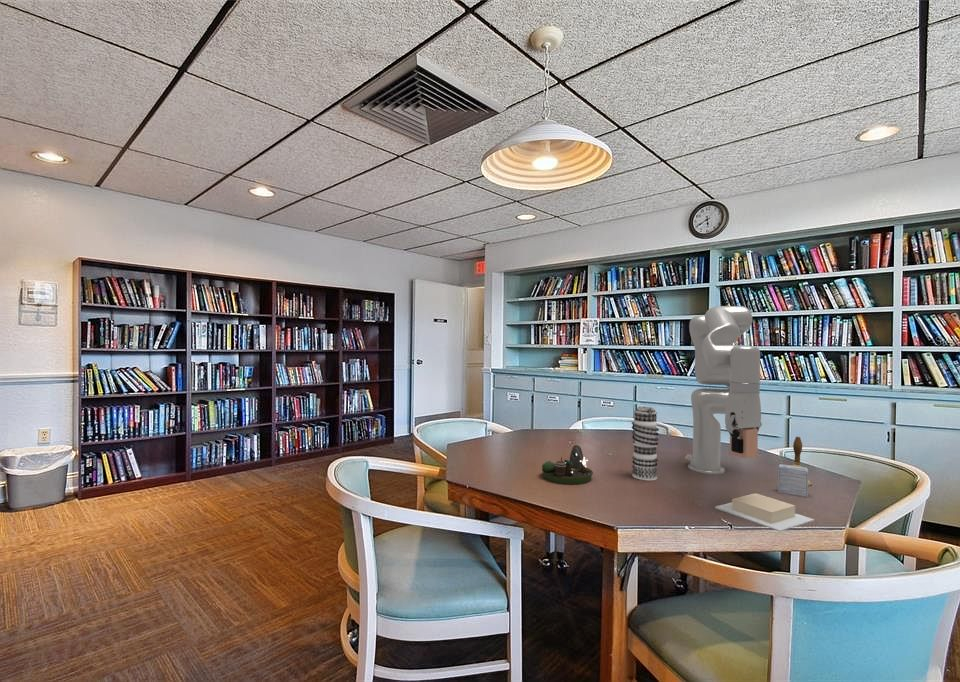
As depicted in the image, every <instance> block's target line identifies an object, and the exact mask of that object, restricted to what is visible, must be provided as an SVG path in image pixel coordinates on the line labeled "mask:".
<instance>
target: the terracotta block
mask: <svg viewBox="0 0 960 682" xmlns="http://www.w3.org/2000/svg"><path fill="white" fill-rule="evenodd" d="M736 427H738V426H736ZM736 431H737V432H738V431H739V430H736ZM758 433H759V431H758V429H755V428H747V429H743V434H742V439H743V453H737V452H733V451H732V450H731V443H732V438H731V437H730V436H729V455H731V456H734V457H738V458H743V459H746V460H748V459H753V458H758V452H759V451H758V448H759V447H758V443H759V442H758V440H759V439H758V436H759V435H758Z"/></svg>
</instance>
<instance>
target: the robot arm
mask: <svg viewBox="0 0 960 682" xmlns="http://www.w3.org/2000/svg"><path fill="white" fill-rule="evenodd" d="M752 323H753V314H752V312H751V310H750V309H749V308H748V307H746V306H743V305H719V306H718V305H717V306H712V307H710V308H709V309H708V310H706V312H705V314H701V315H696V316H694V317H692V318H691V319H690V320H689V325H688V326H689V327H688V328H689V334H690V338H691V341H692V344H693V346H694V375H695V380H696V382H697V383H698V384H701V385H709V386H724V387H725V386H726V388H713V387H712V388H711V387H709V388H707V387H705V388H702V387H701V388H697V389H695V390H693V391H692V393H691V396H690V400H691V401H690V403H691V409H692V425H693V426H692V427H693V428H692V454H690V453H687V454H686V456H685V457H684V459H685V460H687V461H690V463H689V464H688V465H687V467H688V469H689V470H691V471H693V472H697V473H701V474H707V475H722V474H725V472H726V470H725V468H724V467H723V466H721V444H722V443H721V441H722V440H721V435H722V434H721V432H722V431H721V430H722V427H721V424H720V422H719V420H718V419H717V418H716V417H715V416H714V415H718V414H720V415H725V416H724V424H725V429H726V430H727V432H728V433H729V438H730V437H731V438H732V443H731V450H732V451H733V452H737V453H743V439H742V434H743V429H747V428H755V429H758V432H759V430H760V428H761V427H762V425H763V424H762V406H761V397H760V395H761V394H760V392H761V387H760V385H761V382H760V381H761V351H760V349H759V347H757V346H753V345H746V344H743V345H742V344H741V345H739V344H734V343H736V342H738V339H740V336H742V335H743V334H744V333H746V332H747V331H748V330H750V328H751V326H752ZM737 426H738V427H737ZM736 430H739V431H738V432H737V431H736Z"/></svg>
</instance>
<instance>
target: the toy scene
mask: <svg viewBox="0 0 960 682" xmlns="http://www.w3.org/2000/svg"><path fill="white" fill-rule="evenodd" d="M587 462H589V460H588V459H586V457H585V456H584V453H583V451H582V448H581V446H580V445H577V444H575V445H573V446H572V448H571V451H570V454H569V460H568V459H565V458H564V460H563V457H562V456H560V460H558V461H556V462H555V463H554V461H551V460H547V461H545V462H544V463H542V465H541V471H542V474H543V477H544V478H545V480H547V481H549V482H553V483H556V484H561V485H581V484H586V483H589V482H591V480H592V476H593V475H594V471H593V470H592V469H591V468H589V467H587Z"/></svg>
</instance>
